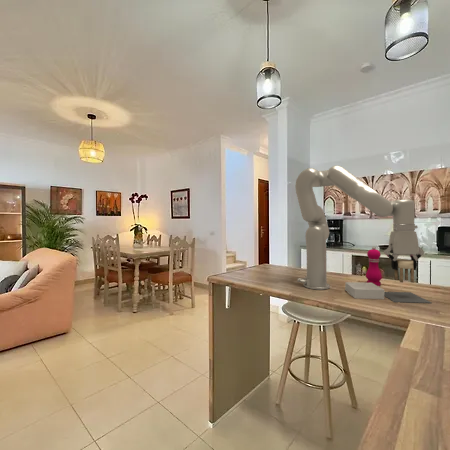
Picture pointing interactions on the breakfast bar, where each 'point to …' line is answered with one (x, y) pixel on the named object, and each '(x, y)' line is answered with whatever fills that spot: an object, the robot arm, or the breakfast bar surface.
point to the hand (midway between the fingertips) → (403, 269)
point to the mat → (405, 297)
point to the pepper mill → (373, 267)
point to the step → (364, 290)
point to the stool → (405, 265)
